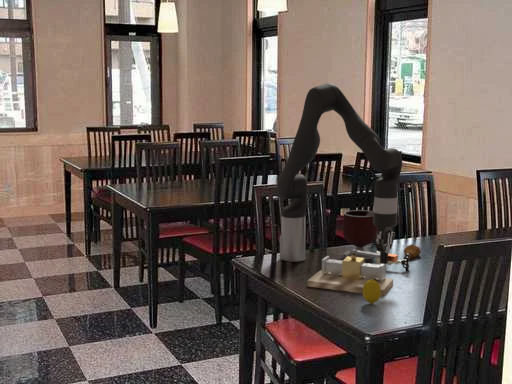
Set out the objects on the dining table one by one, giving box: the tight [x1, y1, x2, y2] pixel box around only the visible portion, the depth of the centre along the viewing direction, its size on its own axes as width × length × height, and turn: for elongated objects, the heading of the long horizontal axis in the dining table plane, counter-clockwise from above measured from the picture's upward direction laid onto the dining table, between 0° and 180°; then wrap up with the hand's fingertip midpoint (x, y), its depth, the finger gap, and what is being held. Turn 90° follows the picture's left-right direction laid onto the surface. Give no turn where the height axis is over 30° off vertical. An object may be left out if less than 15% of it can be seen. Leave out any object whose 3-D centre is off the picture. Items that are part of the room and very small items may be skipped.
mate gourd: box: [342, 209, 378, 260], centre depth 248 cm, size 16×14×20 cm
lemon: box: [362, 279, 381, 305], centre depth 194 cm, size 6×6×8 cm
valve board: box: [307, 269, 394, 297], centre depth 212 cm, size 26×13×2 cm, turn 65°
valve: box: [375, 250, 411, 272], centre depth 230 cm, size 7×7×12 cm
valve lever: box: [349, 248, 399, 262], centre depth 210 cm, size 17×3×2 cm, turn 53°
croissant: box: [403, 244, 422, 260], centre depth 248 cm, size 14×7×5 cm, turn 156°
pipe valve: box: [321, 254, 387, 281], centre depth 215 cm, size 21×6×8 cm, turn 65°
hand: (384, 263), depth 204 cm, fingers closed
